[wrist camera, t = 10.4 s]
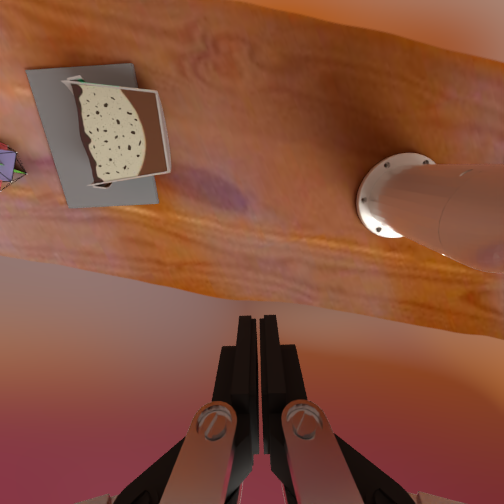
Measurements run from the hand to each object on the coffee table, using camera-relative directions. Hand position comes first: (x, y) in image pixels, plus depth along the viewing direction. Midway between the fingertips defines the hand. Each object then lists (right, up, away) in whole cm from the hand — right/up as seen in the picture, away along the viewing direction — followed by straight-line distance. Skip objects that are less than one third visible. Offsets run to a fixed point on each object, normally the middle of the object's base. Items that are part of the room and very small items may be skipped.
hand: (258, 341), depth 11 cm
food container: (-12, +20, +22) cm, 32 cm away
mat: (-22, +20, +24) cm, 38 cm away
